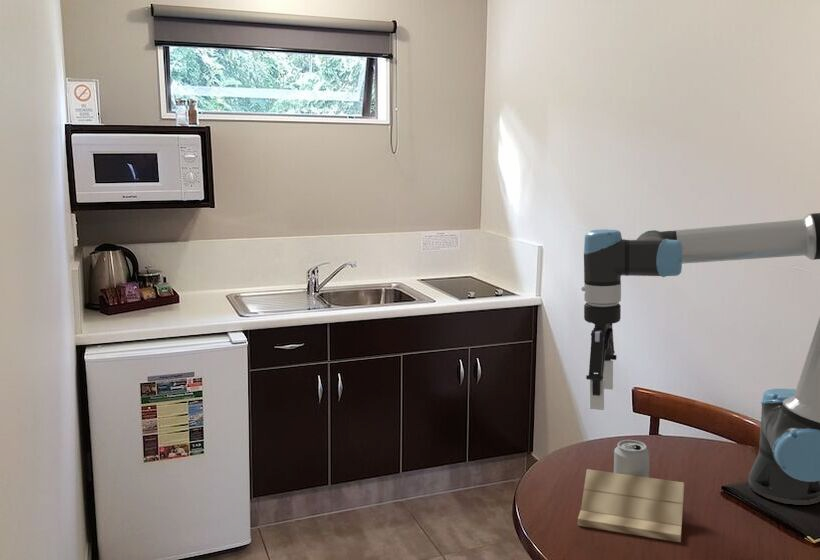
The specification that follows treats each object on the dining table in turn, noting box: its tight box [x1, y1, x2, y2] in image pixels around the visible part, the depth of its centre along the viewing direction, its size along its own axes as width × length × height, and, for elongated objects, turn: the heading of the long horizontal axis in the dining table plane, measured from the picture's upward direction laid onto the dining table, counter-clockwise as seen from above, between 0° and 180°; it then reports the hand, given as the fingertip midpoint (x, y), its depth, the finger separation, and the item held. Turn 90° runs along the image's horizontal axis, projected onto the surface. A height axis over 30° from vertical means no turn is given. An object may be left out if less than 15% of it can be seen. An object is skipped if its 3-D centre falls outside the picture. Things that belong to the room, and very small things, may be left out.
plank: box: [580, 468, 685, 526], centre depth 154 cm, size 20×10×2 cm
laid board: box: [577, 509, 683, 543], centre depth 148 cm, size 20×4×2 cm, turn 68°
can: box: [613, 439, 651, 478], centre depth 162 cm, size 8×8×12 cm
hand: (601, 398), depth 158 cm, fingers open, 13 cm apart
